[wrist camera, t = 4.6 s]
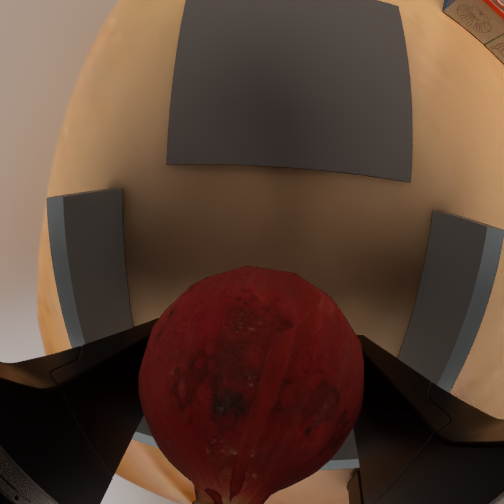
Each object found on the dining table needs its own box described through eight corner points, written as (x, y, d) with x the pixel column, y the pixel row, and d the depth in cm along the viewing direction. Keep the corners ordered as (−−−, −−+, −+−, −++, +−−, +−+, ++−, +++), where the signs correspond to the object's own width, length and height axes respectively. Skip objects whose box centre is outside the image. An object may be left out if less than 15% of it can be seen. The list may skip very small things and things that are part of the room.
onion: (193, 231, 10) (5, 356, 2) (354, 250, 9) (486, 432, 2) (192, 361, 11) (114, 515, 4) (322, 379, 11) (334, 552, 3)
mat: (395, 10, 8) (398, 6, 7) (406, 182, 10) (410, 182, 10) (189, -2, 9) (187, -6, 8) (170, 165, 11) (166, 164, 11)
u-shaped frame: (449, 213, 10) (504, 230, 6) (388, 412, 13) (403, 461, 9) (105, 189, 12) (46, 197, 8) (133, 386, 15) (104, 428, 11)
